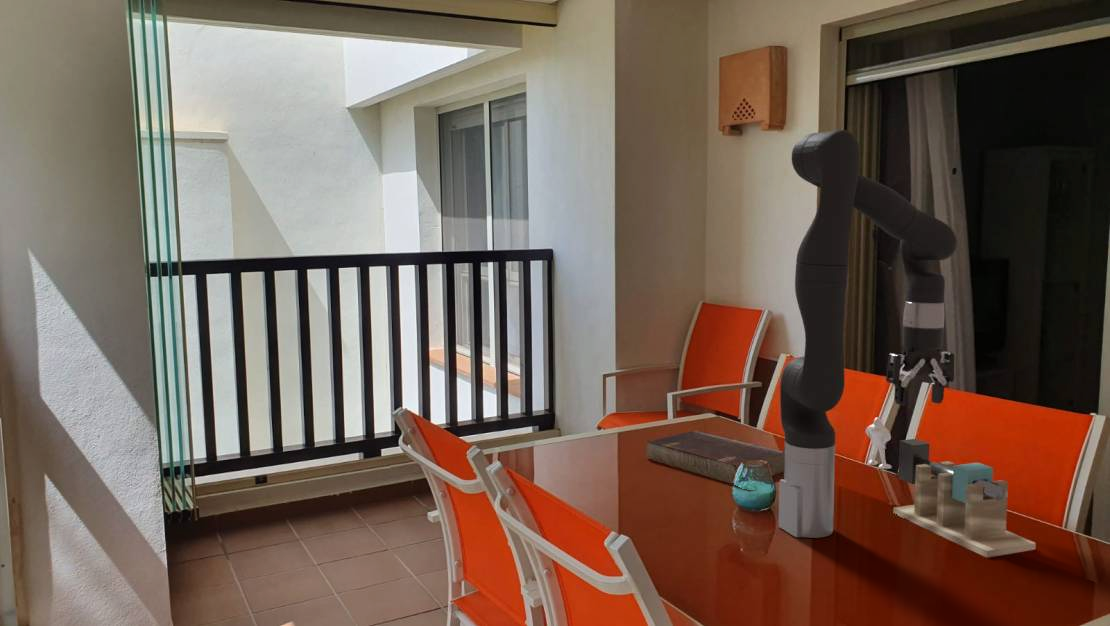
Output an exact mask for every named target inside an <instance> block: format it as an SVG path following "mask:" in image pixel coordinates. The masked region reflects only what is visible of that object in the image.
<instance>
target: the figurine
mask: <svg viewBox="0 0 1110 626" xmlns="http://www.w3.org/2000/svg"><path fill="white" fill-rule="evenodd" d="M865 434H866V435H867V437H869V439H870V441H871V442H870V443H869V445H873V446H872V454H871V457H870V460H869V461H868V462H867V464H868V465H869V466H877V465H878V464H879V461H877V460H876V457H877V454H878V452H879V458H880V460H881V461H880V462H881V464H879V465H878V469H881V470H890V469H892V465H891V464H888V463H887V461H886V452H885V449H887V447H886V445H885V444H886V443H887V442H889V441H890V440H891V438H892V435H891V432H890V431H889V429H888V428H887V427H886V426H885V425H884V424H883V420H881V418H880V417H875V418H874V420H873V423H872V424H870V425H869V426H867V427H866V429H865Z"/></svg>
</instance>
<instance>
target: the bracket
mask: <svg viewBox="0 0 1110 626" xmlns="http://www.w3.org/2000/svg"><path fill="white" fill-rule="evenodd" d="M938 464H940V465H943V466H945V467H948V468H951V469H953V466H955V465H956V463H955V462H952V461H950V460H949V461H948V460H947V461H941V462H939V463H938ZM991 484H994V485H997V486H1000V487H1002V488H1004V489H1005V491H1006V494H1005V497H1004V498H1003V499H1002V500H996V499H994V498H991V497H989V496H984V497H983V486H982V485H980V484H977V483H975V484H968V485H967V486H966V503H964V502H961V501H959V500H956V499H954V498H952V487H953V474H950V473H941V474H938V477H937V476H935V475H932V474H931V466H929V465H927V464H922V465H916V478H915V484H914V485H915V486H914V487H915V488H914V504H910V505H902V506H895V507H893V509H892V510H893V512H892V513H893V514H894V513H895V514H894V515H896V514H897V515H896V516H898V517H900V518H902V519H904V518H905V519H904V520H906V519H907V521H908V520H909V521H908V522H910V523H912V524H915V525H917V526H919V527H921V528H923V529H926V530H928V531H929V532H932V533H934V534H936V535H938V536H940V537H942V538H944V539H946V540H948V541H951V542H952V543H955V544H956V545H959V546H961V547H963V548H965V549H967V550H970V551H971V552H974V553H976V554H978V555H980V556H982V557H984V558H993V557H999V556H1004V555H1005V556H1006V555H1012V554H1015V553H1016V554H1017V553H1023V552H1029V551H1034V550H1036V542H1035V541H1032V540H1029V539H1027V538H1025V537H1022V536H1020V535H1017V534H1016V533H1013V532H1011V531H1009V530H1007V517H1008V515H1007V514H1008V513H1007V512H1008V495H1009V492H1008V491H1009V482H1008V481H1005V480H1003V479H1000V480H999V479H998V480H993V481H991Z"/></svg>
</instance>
